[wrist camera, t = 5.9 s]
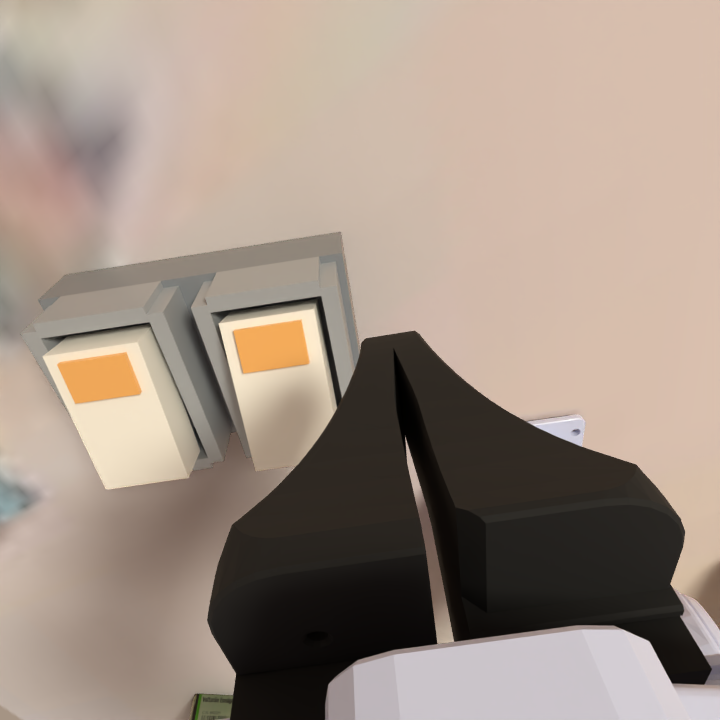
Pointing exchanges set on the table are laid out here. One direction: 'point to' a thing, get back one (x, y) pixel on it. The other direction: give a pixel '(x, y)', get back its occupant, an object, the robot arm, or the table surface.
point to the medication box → (211, 707)
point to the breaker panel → (206, 318)
